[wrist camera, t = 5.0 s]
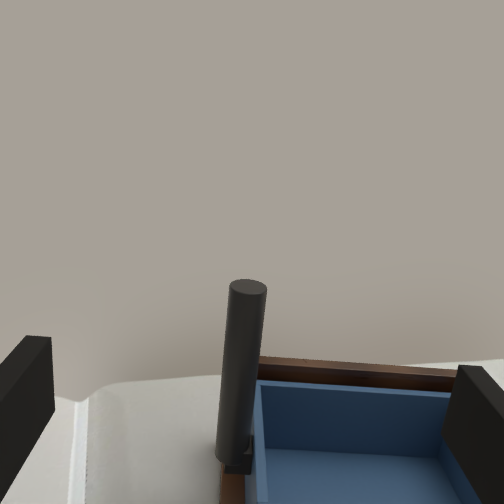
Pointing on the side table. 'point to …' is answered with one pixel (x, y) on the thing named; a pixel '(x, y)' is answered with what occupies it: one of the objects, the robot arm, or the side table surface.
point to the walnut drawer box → (344, 376)
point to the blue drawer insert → (326, 431)
